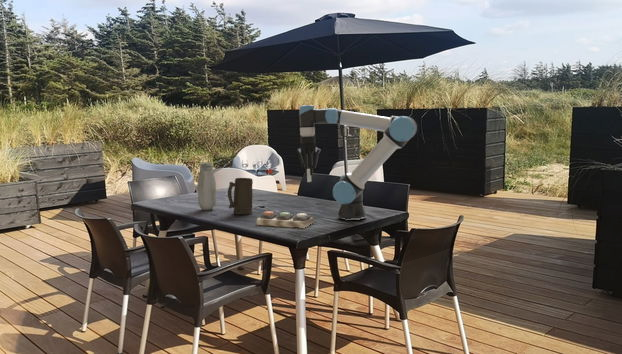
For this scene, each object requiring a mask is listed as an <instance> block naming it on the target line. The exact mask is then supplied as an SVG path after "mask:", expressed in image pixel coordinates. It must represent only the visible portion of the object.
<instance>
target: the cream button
mask: <svg viewBox="0 0 622 354" xmlns="http://www.w3.org/2000/svg"><path fill="white" fill-rule="evenodd" d="M296 215H297V217H298V218H306V217H307V213H304V212H303V213H302V212H300V213H297V214H296Z"/></svg>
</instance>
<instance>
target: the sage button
mask: <svg viewBox="0 0 622 354" xmlns="http://www.w3.org/2000/svg"><path fill="white" fill-rule="evenodd" d="M290 214H291V213H290V212H288V211H285V212H284V211H283V212H280V213H279V215H280V216H283V217H289V216H290Z"/></svg>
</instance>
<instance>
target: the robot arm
mask: <svg viewBox="0 0 622 354" xmlns="http://www.w3.org/2000/svg"><path fill="white" fill-rule="evenodd" d="M298 117H299V132H300V133H299V135H300V145H299V148H298V149H296V150H295V153H296V154H297V155H298V159H299V163H300V166H301V169H304V174H305V176H306V180H307V181H306V182H307V183H311V182H312V176H313V175H314V169H315V168H316V167H317V165H318V162H319V161H318V160H319V155H320V153H321V151H322V150H321V148H318V147H317V145H316V132H315V131H316V128H315V127H316V126H315V125H317V124H318V125H319V124H322V125H323V124H334V125H341V126H347V127H348V126H349V127H354V128H360V129H366V130H372V131H379V132H383V137H382V139H380V140H379V142H378V143H377V144H376V145H375V146H374V147H373V148H372V149H371V150H370V152H369V153H368V154H367V155H366V156H365V157H364V158H363V160H361V161H360V162H359V163H358V165H357V166H356V167H355V168H354V169H353V170H352V172H347V173H346V174H342V175H341V176H340V179H339V181H338V182H336V183H335V184H334V185H333V189H332V197H333V199H334V200H335V201H336V202H337V203H339V204H340V205H339V207H338V212H337V217H339V218H345V219H351V218H361V217H365V216H367V215H366V210H365V208H364V204H363V197H364V196H363V192H364V190H365V184H366V183H367V182H368V181H369V180H370V179H371V177H372V176H373V175H374V174H375V173H376V172H378V170H379V169H380V168H381V166H383V164H384V163H385V162H386V161H387V160H388V159H389V158H390V157H391V156H392V155H393V153H394V152H396V150H398V149H402V148H404V146H405V145H407V144H408V142H409V141H410V140H411V139H412V138H414V136H415V135H416V134H417V131H418V124H417V121H416V120H415V119H414V118H413V117H411V116H407V115H406V116H405V115H400V116H398V115H397V116H396V115H391V116H390V117H388V116H381V115H375V114H370V113H363V112H356V111H355V112H354V111H351V110H350V111H348V110H344V109H337V108H336V107H335V108H334V107H328V108H327V107H326V108H315V106H314V105H313V104H311V105H310V104H308V105H307V104H306V105H300V107H299V113H298ZM314 152H315V153H314ZM302 154H303V155H302ZM314 154H315V155H314ZM313 155H314V156H313ZM313 157H314V158H313ZM337 217H336V218H337Z"/></svg>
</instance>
